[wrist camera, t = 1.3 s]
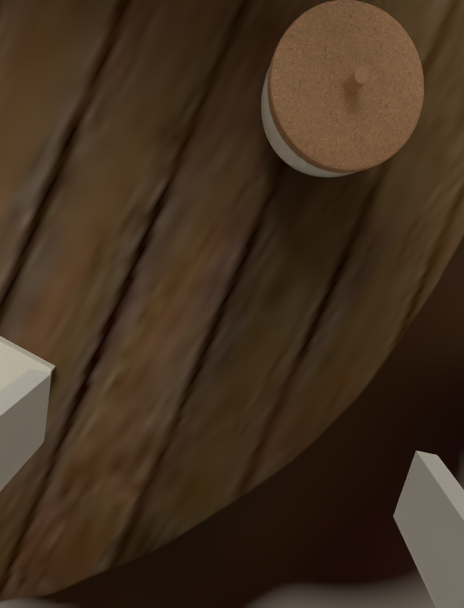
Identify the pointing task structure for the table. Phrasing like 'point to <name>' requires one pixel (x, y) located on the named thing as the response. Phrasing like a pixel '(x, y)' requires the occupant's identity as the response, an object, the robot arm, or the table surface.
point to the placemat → (18, 362)
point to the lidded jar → (342, 90)
